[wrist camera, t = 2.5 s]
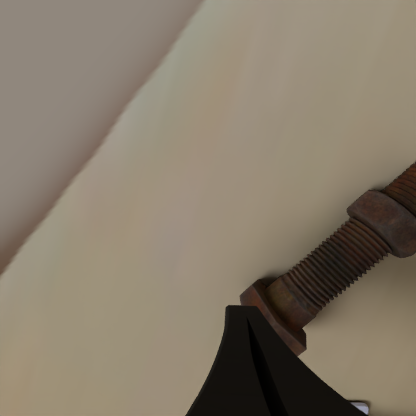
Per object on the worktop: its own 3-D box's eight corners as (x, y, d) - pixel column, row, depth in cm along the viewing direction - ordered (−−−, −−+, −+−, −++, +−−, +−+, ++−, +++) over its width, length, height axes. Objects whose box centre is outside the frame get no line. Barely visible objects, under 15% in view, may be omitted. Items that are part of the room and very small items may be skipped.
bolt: (405, 173, 21) (259, 299, 24) (395, 131, 18) (226, 282, 20) (491, 219, 17) (302, 366, 19) (501, 175, 13) (270, 360, 16)
